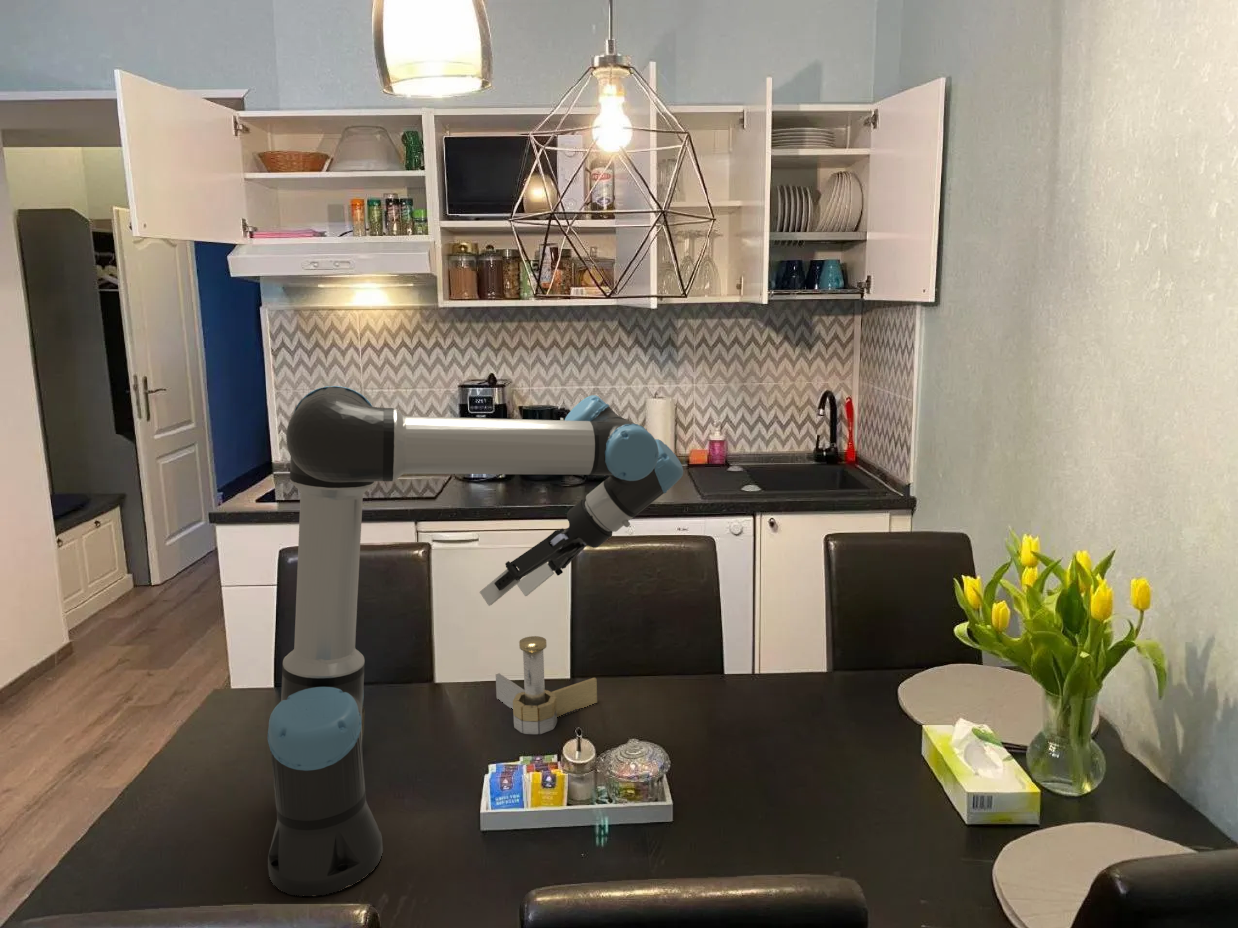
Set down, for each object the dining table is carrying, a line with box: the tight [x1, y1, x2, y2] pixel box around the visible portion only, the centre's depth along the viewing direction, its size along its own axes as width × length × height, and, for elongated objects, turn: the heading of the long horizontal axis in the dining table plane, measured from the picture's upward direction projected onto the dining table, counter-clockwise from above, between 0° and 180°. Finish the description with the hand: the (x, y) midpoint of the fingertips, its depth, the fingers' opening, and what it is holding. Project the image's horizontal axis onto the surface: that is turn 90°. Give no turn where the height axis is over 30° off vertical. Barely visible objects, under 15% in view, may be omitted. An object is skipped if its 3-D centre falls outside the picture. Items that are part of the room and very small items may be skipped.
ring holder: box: [495, 672, 598, 735], centre depth 165 cm, size 14×20×5 cm
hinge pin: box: [518, 635, 547, 706], centre depth 161 cm, size 5×5×16 cm
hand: (504, 594), depth 148 cm, fingers open, 13 cm apart
